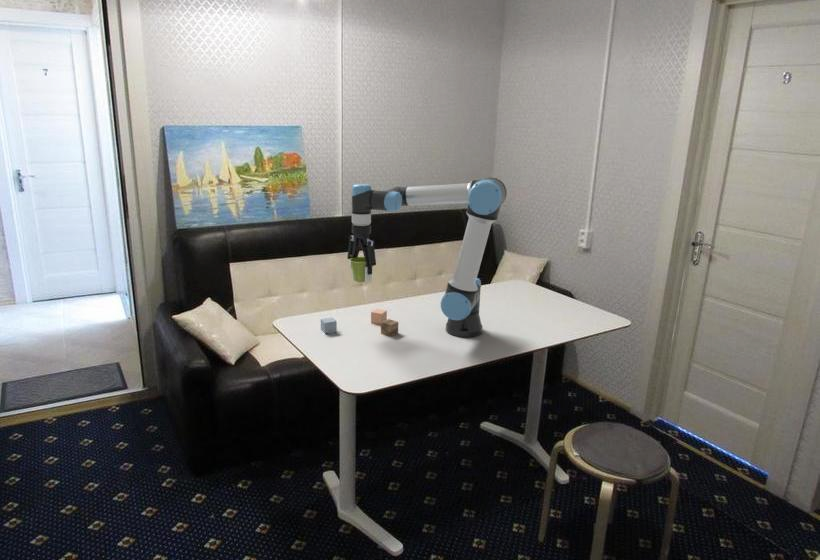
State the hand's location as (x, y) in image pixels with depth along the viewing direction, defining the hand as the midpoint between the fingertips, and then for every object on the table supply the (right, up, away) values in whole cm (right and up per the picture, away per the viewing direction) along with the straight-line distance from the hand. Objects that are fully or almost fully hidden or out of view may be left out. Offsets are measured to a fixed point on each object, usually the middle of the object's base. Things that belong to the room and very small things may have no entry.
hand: (361, 279), depth 235 cm
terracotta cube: (+6, -18, +14) cm, 24 cm away
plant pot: (0, -1, 0) cm, 1 cm away
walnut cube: (+11, -22, +2) cm, 25 cm away
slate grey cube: (-13, -21, +2) cm, 25 cm away
